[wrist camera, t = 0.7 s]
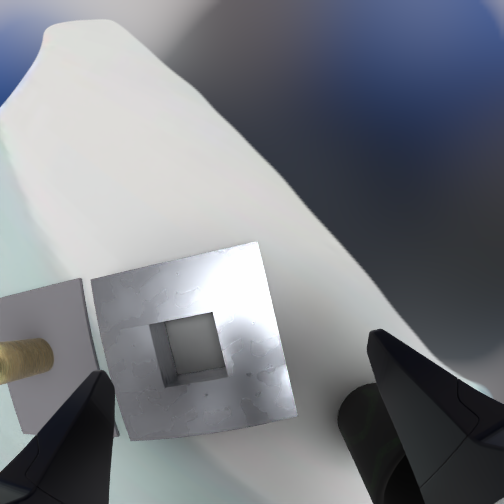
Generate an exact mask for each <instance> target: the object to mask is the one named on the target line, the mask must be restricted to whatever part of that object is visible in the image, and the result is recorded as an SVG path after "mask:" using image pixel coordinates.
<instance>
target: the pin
mask: <svg viewBox="0 0 504 504" xmlns="http://www.w3.org/2000/svg"><path fill="white" fill-rule="evenodd" d="M53 363H54V355H53V351H52V348H51V347H50V345H49V344H48V342H47V341H45V340H44V339H42V338H33V339H24V340H15V341H6V342H0V385H2V384H6V383H9V382H13V381H17V380H20V379H24V378H27V377H31V376H34V375H38V374H41V373H45V372H48V371H49V370H51V368H52V367H53Z"/></svg>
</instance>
